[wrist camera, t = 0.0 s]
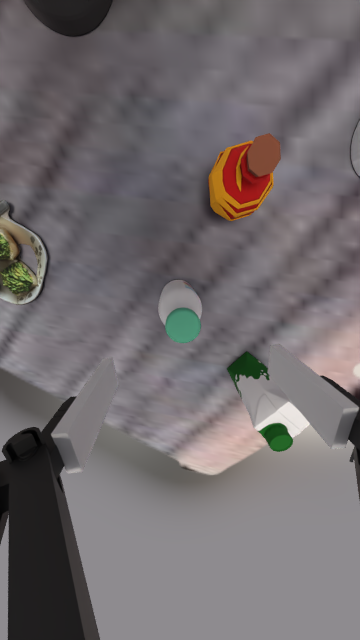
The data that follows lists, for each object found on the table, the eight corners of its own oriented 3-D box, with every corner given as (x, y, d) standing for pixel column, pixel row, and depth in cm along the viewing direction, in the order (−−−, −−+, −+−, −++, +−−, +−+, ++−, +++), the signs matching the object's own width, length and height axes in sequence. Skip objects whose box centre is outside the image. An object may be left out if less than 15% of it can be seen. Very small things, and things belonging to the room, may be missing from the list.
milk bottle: (162, 312, 42) (155, 356, 23) (160, 280, 40) (149, 299, 21) (194, 311, 43) (213, 352, 24) (194, 278, 40) (214, 296, 21)
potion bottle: (206, 160, 33) (232, 86, 19) (258, 171, 34) (321, 108, 20) (196, 222, 36) (212, 200, 22) (244, 231, 37) (289, 214, 23)
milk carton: (222, 368, 48) (254, 439, 29) (247, 346, 46) (299, 406, 28) (242, 386, 51) (285, 462, 32) (267, 365, 49) (328, 433, 30)
